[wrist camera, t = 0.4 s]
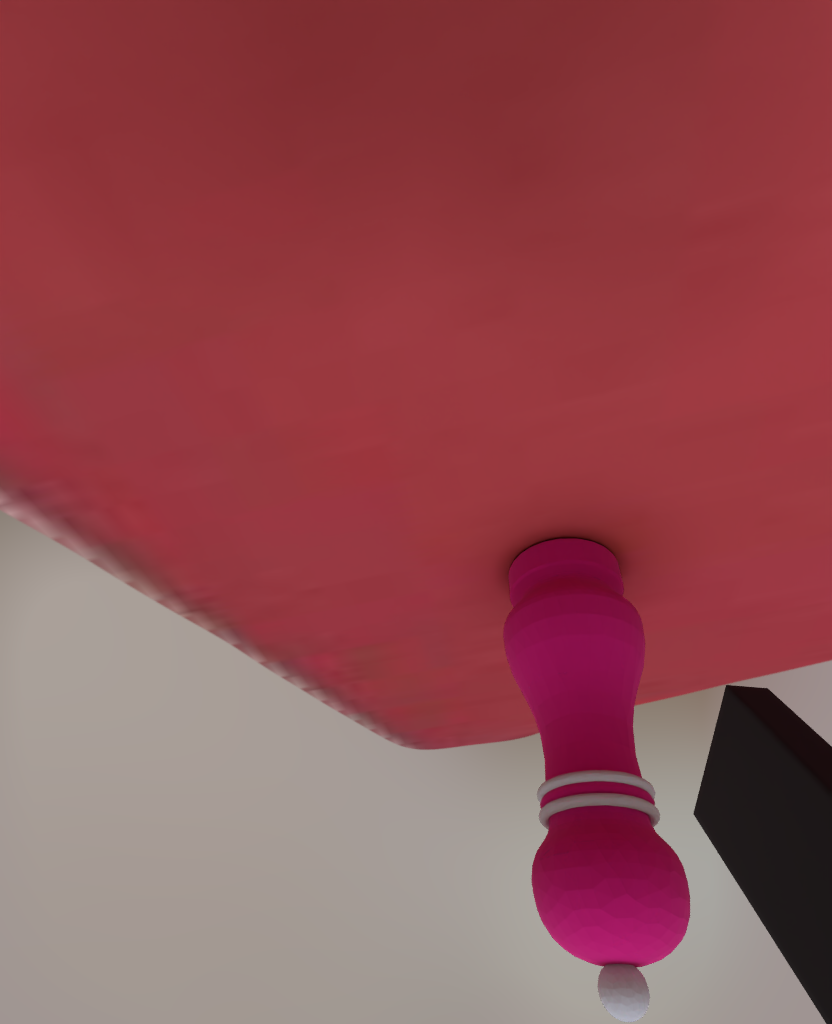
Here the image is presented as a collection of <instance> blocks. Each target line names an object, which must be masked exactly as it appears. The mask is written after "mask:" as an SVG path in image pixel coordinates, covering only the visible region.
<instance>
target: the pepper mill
mask: <svg viewBox="0 0 832 1024" xmlns="http://www.w3.org/2000/svg"><path fill="white" fill-rule="evenodd" d="M509 589H510V600H511V603H512V605H513V607H514V608H513V609H512V611H511V612H510V613H509V615H508V617H507V620H506V622H505V625H504V634H503V637H504V644H505V651H506V656H507V660H508V663H509V665H510V668H511V671H512V674H513V676H514V678H515V680H516V682H517V684H518V686H519V688H520V689H521V691H522V693H523V695H524V697H525V699H526V701H527V703H528V705H529V707H530V709H531V711H532V713H533V715H534V717H535V720H536V723H537V726H538V729H539V732H540V735H541V740H542V746H543V752H544V758H545V779H546V782H544V783H543V784H542V785H541V786H540V787H539V789H538V792H537V797H538V800H539V802H540V806H541V811H540V813H539V820H540V822H541V823H542V825H543V826H544V827H546V828H547V829H549V831H548V834H547V836H546V838H545V840H544V841H543V843H542V844H541V846H540V847H539V849H538V850H537V853H536V855H535V859H534V862H533V865H532V886H533V893H534V898H535V902H536V906H537V910H538V912H539V915H540V917H541V920H542V922H543V924H544V925H545V927H546V928H547V930H548V931H549V933H550V935H551V936H552V938H553V939H554V940H555V941H556V942H557V943H558V944H559V945H560V946H562V947H563V948H564V949H565V950H567V951H568V952H569V953H571V954H572V955H574V956H575V957H578V958H580V959H582V960H585V961H587V962H589V963H592V964H595V965H599V966H604V968H603V969H602V970H601V972H600V975H599V978H598V979H599V980H598V991H599V995H600V999H601V1001H602V1003H603V1005H604V1007H605V1008H606V1010H607V1011H608V1012H609V1013H610V1014H611V1015H612V1016H613V1017H615V1018H617V1019H618V1020H620V1021H623V1022H634V1021H636V1020H638V1019H640V1018H641V1017H642V1016H644V1015H645V1013H646V1011H647V1009H648V1005H649V998H650V996H649V989H648V986H647V983H646V981H645V978H644V977H643V975H642V974H641V972H640V971H639V970H638V969H637V968H636V967H642V966H645V965H649V964H652V963H654V962H657V961H659V960H662V959H663V958H664V957H666V956H667V955H669V954H670V953H671V952H672V951H673V950H674V949H675V948H676V947H677V945H678V944H679V943H680V942H681V941H682V939H683V937H684V935H685V933H686V930H687V926H688V922H689V918H690V895H689V888H688V882H687V878H686V875H685V872H684V868H683V866H682V863H681V862H680V860H679V858H678V856H677V854H676V853H675V852H674V850H673V849H672V848H671V847H670V846H669V845H668V844H667V843H666V842H665V841H664V840H663V839H662V838H661V837H660V836H659V835H658V834H657V833H656V832H655V830H654V828H653V827H654V826H655V825H656V824H657V823H658V821H659V820H660V813H659V811H658V809H657V808H656V807H655V806H654V805H655V802H654V798H655V791H654V788H653V786H652V785H651V784H650V783H649V782H648V781H646V780H645V779H643V778H642V776H641V773H640V769H639V766H638V762H637V758H636V753H635V743H634V734H633V714H634V704H635V699H636V694H637V690H638V686H639V682H640V678H641V674H642V671H643V666H644V654H645V639H644V632H643V625H642V621H641V618H640V615H639V614H638V612H637V610H636V609H635V607H634V606H633V605H632V604H631V603H630V602H629V601H628V600H627V599H625V598H624V597H623V592H624V587H623V582H622V577H621V573H620V569H619V564H618V561H617V560H616V558H615V556H614V555H613V554H612V553H611V552H610V551H609V550H608V549H607V548H605V547H604V546H602V545H600V544H597V543H595V542H592V541H588V540H583V539H578V538H566V539H554V540H549V541H545V542H542V543H540V544H537V545H535V546H532V547H530V548H528V549H527V550H525V551H524V552H522V553H521V554H520V555H519V556H518V557H517V558H516V559H515V560H514V562H513V563H512V565H511V567H510V570H509Z"/></svg>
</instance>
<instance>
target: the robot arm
mask: <svg viewBox="0 0 832 1024" xmlns="http://www.w3.org/2000/svg"><path fill="white" fill-rule="evenodd" d="M694 815H695V817H696V818H697V820H698V822H699V823H700V825H701V826H702V828H703V830H704V831H705V833H706V834H707V836H708V837H709V839H710V840H711V842H712V844H713V845H714V847H715V848H716V850H717V852H718V853H719V855H720V856H721V858H722V860H723V861H724V863H725V864H726V866H727V867H728V869H729V871H730V872H731V874H732V875H733V877H734V878H735V880H736V882H737V883H738V885H739V886H740V888H741V889H742V891H743V892H744V894H745V896H746V897H747V899H748V901H749V902H750V904H751V905H752V907H753V908H754V910H755V912H756V913H757V915H758V916H759V918H760V920H761V921H762V923H763V924H764V926H765V927H766V929H767V931H768V932H769V934H770V935H771V937H772V938H773V940H774V941H775V943H776V945H777V946H778V948H779V949H780V951H781V953H782V954H783V956H784V957H785V959H786V961H787V962H788V964H789V965H790V967H791V968H792V970H793V972H794V973H795V975H796V976H797V978H798V979H799V981H800V982H801V984H802V986H803V987H804V989H805V990H806V992H807V993H808V995H809V997H810V998H811V1000H812V1001H813V1003H814V1005H815V1006H816V1008H817V1009H818V1011H819V1012H820V1014H821V1016H822V1017H823V1019H824V1020H825V1022H826V1024H832V747H831V746H830V745H829V744H828V743H827V742H826V741H825V740H824V739H823V738H821V737H820V736H819V735H818V734H817V733H816V732H815V731H814V730H813V729H811V728H810V727H809V726H808V725H807V724H806V723H805V722H804V721H803V720H802V719H801V718H799V717H798V716H797V715H796V714H795V713H794V712H793V711H792V710H791V709H790V708H788V707H787V706H786V705H785V704H784V703H783V702H782V701H781V700H780V699H779V698H777V697H776V696H775V695H774V694H773V693H772V692H771V691H770V690H769V689H767V688H755V687H744V686H731V685H726V688H725V692H724V696H723V700H722V704H721V708H720V712H719V716H718V720H717V723H716V727H715V731H714V735H713V740H712V743H711V747H710V751H709V755H708V759H707V763H706V767H705V771H704V775H703V778H702V782H701V786H700V791H699V794H698V798H697V802H696V806H695V810H694Z"/></svg>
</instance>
